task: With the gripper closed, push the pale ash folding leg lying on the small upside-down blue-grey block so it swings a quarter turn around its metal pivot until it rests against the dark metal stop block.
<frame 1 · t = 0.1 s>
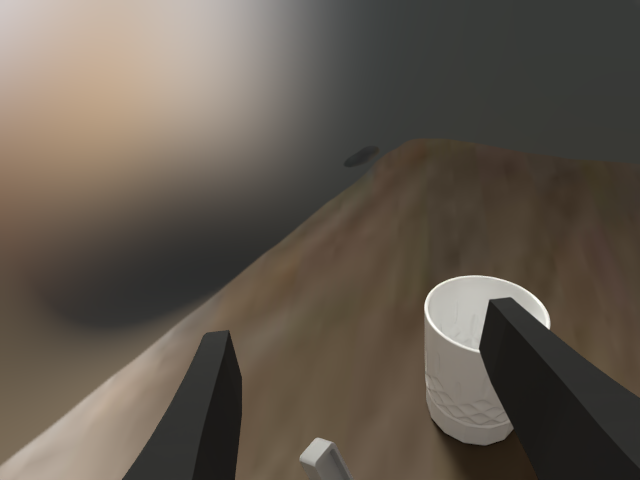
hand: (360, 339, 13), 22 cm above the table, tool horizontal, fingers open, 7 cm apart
white cup: (470, 408, 35), on the table
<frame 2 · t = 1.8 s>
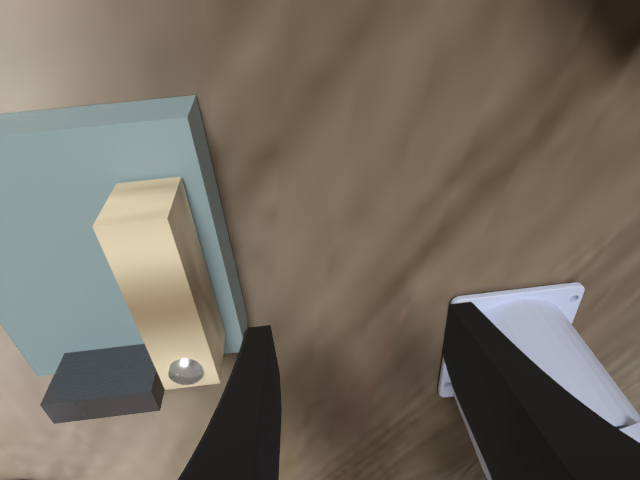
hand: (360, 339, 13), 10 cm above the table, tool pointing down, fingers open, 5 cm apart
blue-grey block: (114, 237, 22), on the table
folding leg: (171, 293, 19), point 4 cm above the table, hinge at 0.0°
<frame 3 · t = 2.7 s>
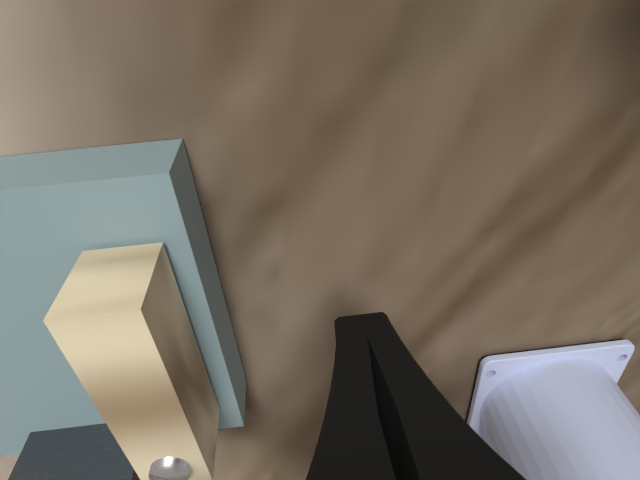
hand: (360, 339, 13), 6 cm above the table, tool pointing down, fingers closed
blue-grey block: (88, 299, 19), on the table
folding leg: (152, 380, 15), point 4 cm above the table, hinge at 0.0°
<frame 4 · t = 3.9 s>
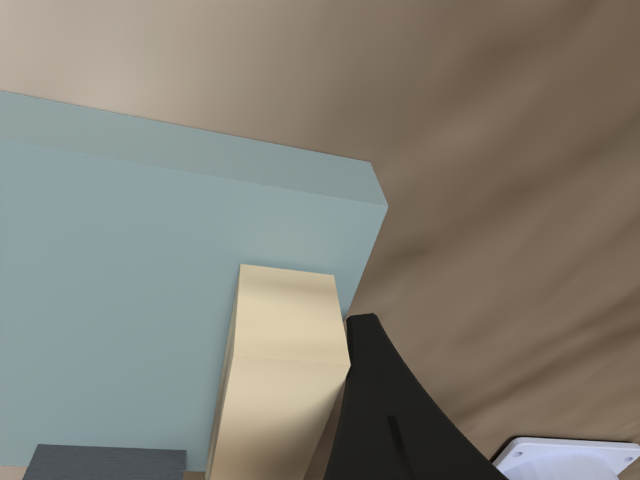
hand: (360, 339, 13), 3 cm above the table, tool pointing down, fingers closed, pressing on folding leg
blue-grey block: (164, 300, 16), on the table
folding leg: (260, 425, 13), point 4 cm above the table, hinge at 0.7°, touching gripper
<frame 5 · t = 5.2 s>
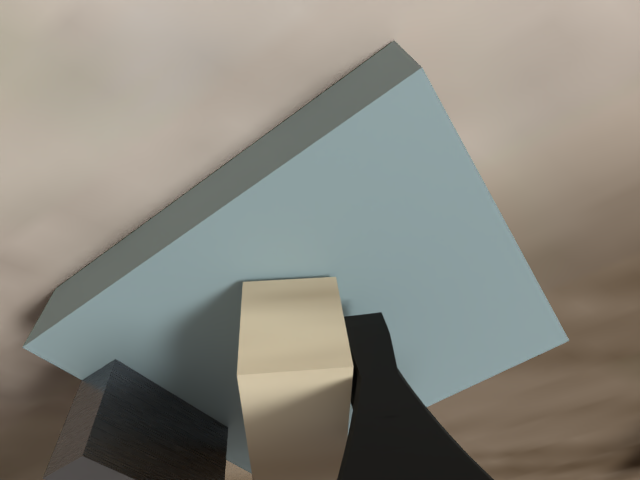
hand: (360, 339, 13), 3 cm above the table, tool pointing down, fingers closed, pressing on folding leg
blue-grey block: (311, 289, 16), on the table
folding leg: (296, 430, 13), point 4 cm above the table, hinge at 54.5°, touching gripper
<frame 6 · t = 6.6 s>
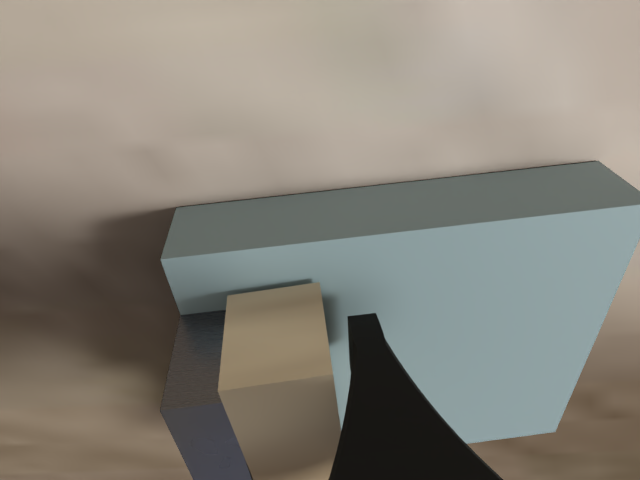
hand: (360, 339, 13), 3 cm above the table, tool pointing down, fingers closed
blue-grey block: (387, 312, 17), on the table
folding leg: (299, 436, 13), point 4 cm above the table, hinge at 92.1°, touching gripper, blue-grey block
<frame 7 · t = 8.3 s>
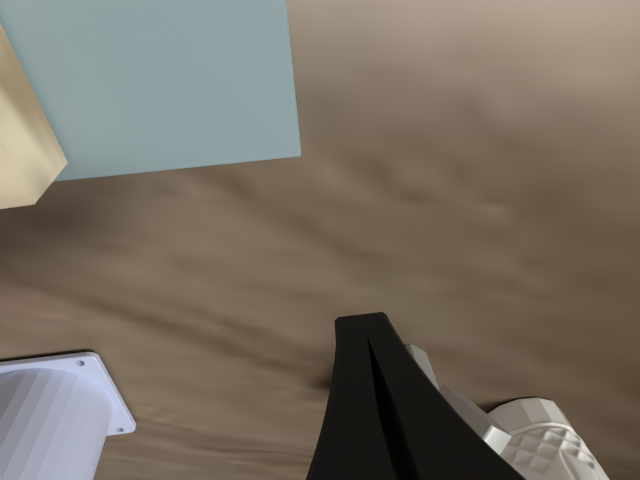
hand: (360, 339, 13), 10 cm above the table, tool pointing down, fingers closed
blue-grey block: (104, 5, 16), on the table
lighter: (411, 350, 30), on the table
white cup: (515, 419, 36), on the table
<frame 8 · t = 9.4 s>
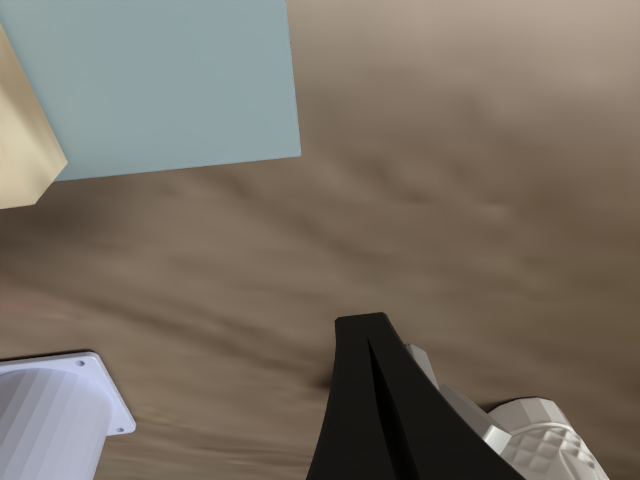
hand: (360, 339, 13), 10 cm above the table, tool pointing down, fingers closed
blue-grey block: (104, 5, 16), on the table
lighter: (411, 350, 30), on the table
white cup: (515, 419, 36), on the table
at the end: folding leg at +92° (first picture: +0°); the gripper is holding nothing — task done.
